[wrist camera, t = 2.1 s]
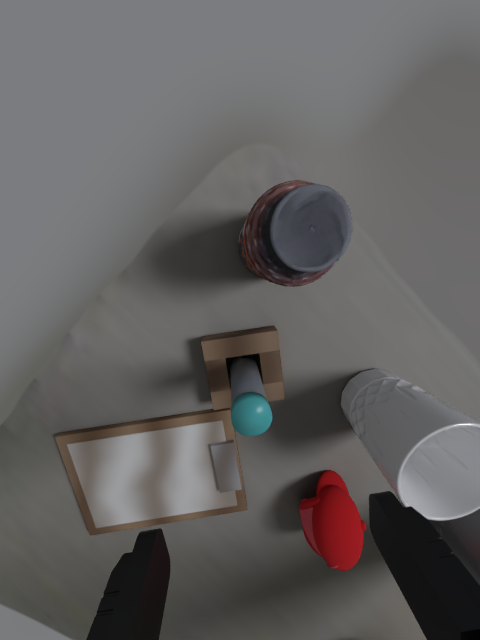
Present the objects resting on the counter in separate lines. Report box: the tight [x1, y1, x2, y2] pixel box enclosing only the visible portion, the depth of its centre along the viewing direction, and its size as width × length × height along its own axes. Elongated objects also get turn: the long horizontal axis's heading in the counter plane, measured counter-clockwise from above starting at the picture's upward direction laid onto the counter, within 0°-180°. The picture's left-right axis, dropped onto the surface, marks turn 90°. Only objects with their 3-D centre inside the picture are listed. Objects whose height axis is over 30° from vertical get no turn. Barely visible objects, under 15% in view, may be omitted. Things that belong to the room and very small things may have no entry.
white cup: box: [341, 369, 480, 521], centre depth 22 cm, size 8×8×10 cm
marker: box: [231, 355, 272, 436], centre depth 20 cm, size 3×3×9 cm
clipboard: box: [55, 408, 247, 535], centre depth 27 cm, size 18×13×1 cm
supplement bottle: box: [238, 180, 352, 286], centre depth 17 cm, size 6×6×11 cm
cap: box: [299, 470, 366, 571], centre depth 26 cm, size 8×6×6 cm
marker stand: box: [201, 326, 285, 410], centre depth 24 cm, size 7×7×2 cm
